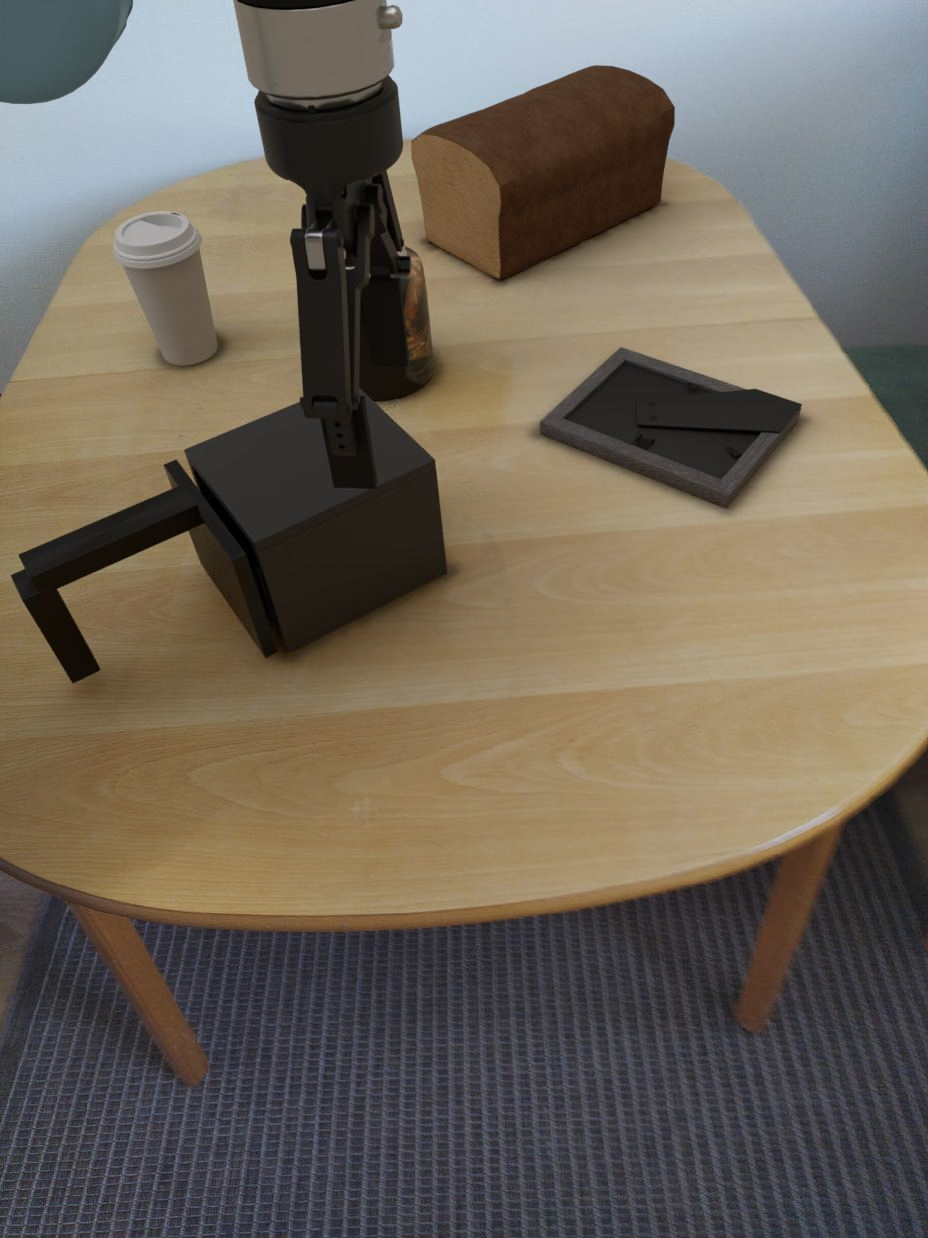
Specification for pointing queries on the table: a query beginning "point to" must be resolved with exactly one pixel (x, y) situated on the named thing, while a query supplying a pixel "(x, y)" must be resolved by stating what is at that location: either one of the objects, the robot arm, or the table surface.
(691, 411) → the picture frame
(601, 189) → the bread
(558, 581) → the table surface
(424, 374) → the jar
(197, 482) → the box
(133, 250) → the coffee cup
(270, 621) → the fryer drawer
